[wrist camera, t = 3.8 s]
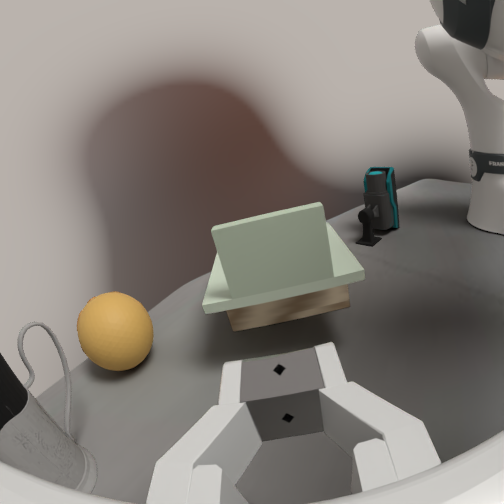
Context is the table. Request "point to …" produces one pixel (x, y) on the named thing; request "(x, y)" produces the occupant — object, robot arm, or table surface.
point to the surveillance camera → (378, 204)
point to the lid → (277, 259)
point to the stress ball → (115, 331)
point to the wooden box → (289, 308)
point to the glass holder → (40, 430)
